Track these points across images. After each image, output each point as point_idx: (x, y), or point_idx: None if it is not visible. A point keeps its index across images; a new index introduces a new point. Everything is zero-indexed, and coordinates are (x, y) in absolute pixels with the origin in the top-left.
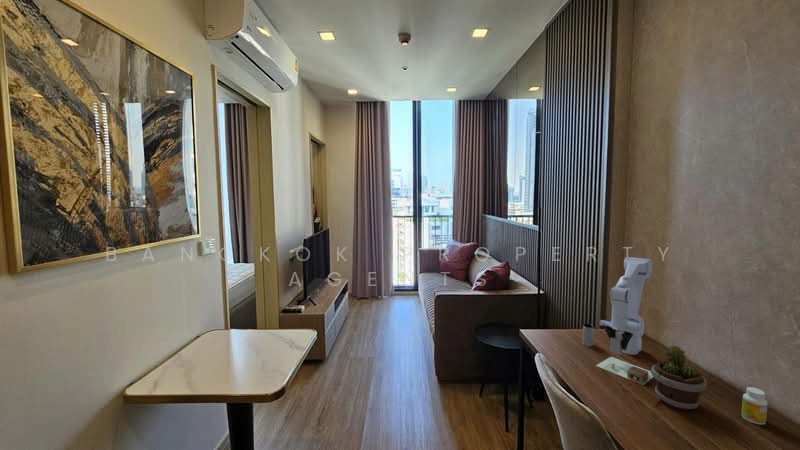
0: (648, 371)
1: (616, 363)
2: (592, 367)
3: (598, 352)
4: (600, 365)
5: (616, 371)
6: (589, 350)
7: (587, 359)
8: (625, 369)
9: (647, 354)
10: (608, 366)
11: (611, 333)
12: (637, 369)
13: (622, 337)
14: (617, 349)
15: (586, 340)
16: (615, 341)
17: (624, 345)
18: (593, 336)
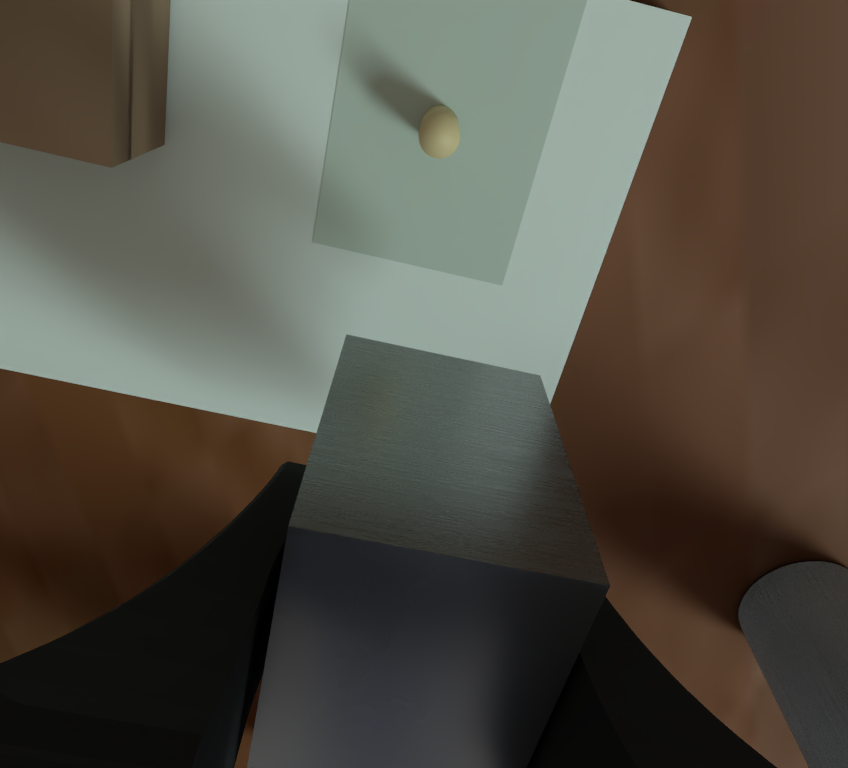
0: (61, 358)
1: (428, 324)
2: (725, 15)
3: (671, 535)
4: (620, 82)
5: (369, 34)
6: (777, 524)
7: (803, 254)
8: (287, 216)
9: (247, 742)
10: (505, 139)
11: (597, 758)
12: (9, 67)
13: (229, 663)
14: (393, 384)
15: None
16: (439, 499)
17: (252, 509)
18: (809, 747)
